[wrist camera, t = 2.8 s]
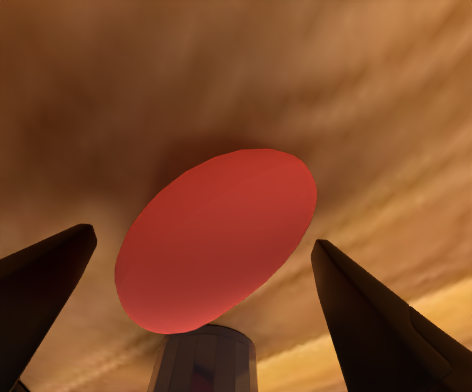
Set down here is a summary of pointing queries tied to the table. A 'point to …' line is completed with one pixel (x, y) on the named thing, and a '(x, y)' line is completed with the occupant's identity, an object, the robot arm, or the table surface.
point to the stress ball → (213, 238)
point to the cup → (205, 362)
